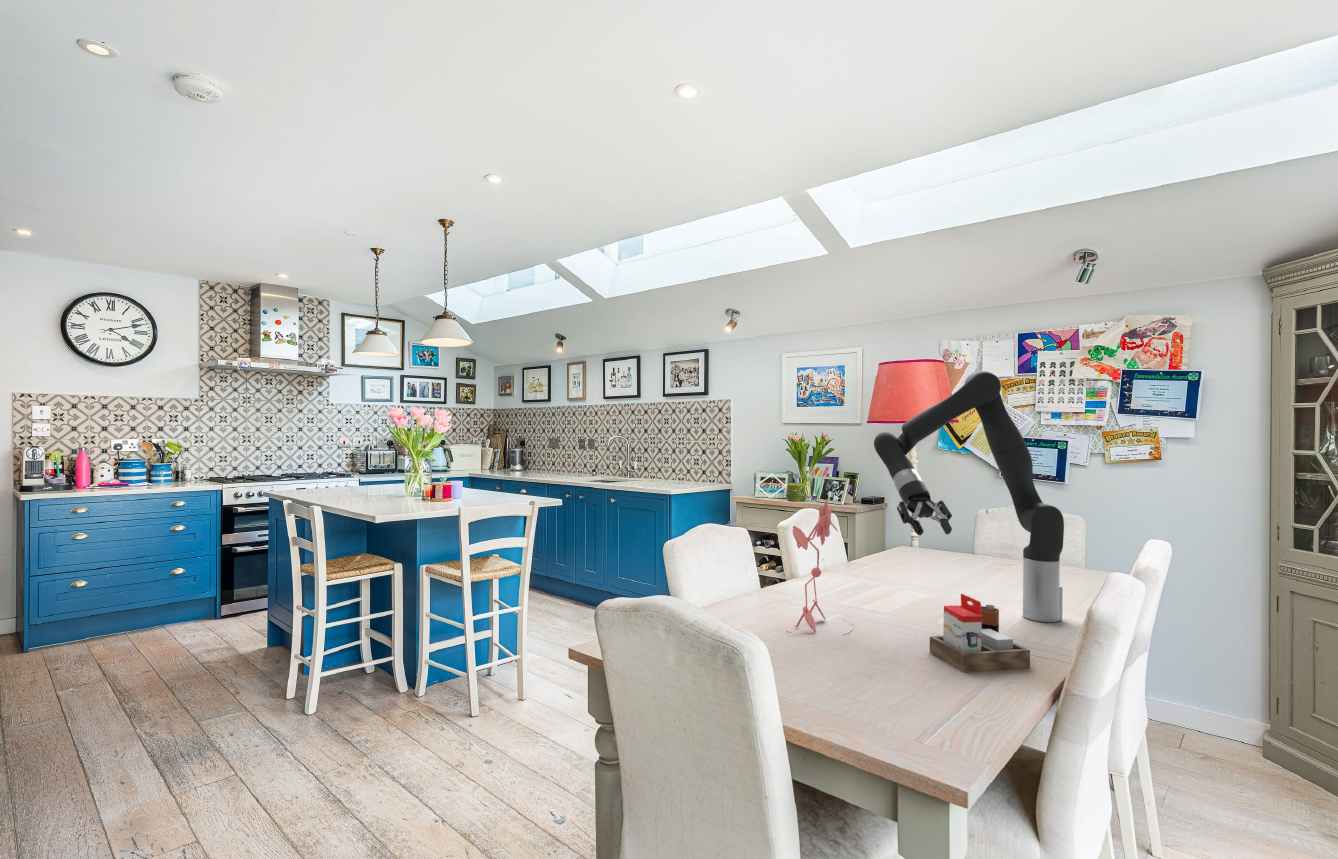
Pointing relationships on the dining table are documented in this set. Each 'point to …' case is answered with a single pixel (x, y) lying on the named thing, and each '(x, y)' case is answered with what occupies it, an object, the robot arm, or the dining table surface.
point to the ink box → (963, 625)
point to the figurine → (802, 540)
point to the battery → (990, 617)
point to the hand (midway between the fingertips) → (935, 533)
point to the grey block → (996, 640)
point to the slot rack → (980, 657)
